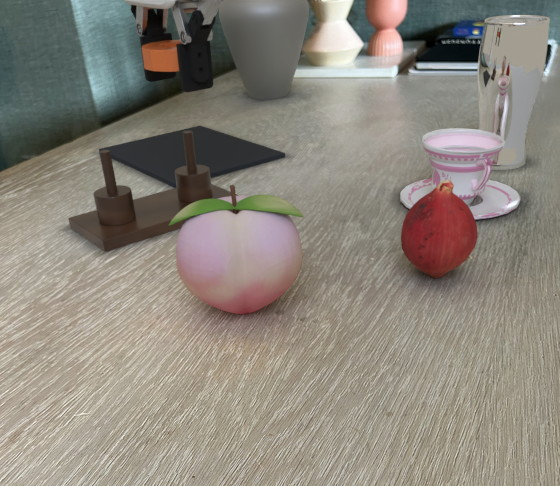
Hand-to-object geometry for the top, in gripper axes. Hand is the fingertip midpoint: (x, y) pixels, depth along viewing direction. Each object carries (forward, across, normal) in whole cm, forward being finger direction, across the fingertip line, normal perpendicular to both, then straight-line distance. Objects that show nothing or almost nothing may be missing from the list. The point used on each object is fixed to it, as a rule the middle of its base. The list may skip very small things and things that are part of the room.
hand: (178, 82), depth 64 cm
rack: (+12, 0, -4) cm, 13 cm away
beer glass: (+12, +13, +34) cm, 38 cm away
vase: (+13, -37, +38) cm, 54 cm away
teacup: (+12, +18, +21) cm, 30 cm away
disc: (-2, 0, 0) cm, 2 cm away
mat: (+12, -17, +10) cm, 23 cm away
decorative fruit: (+12, +22, -9) cm, 27 cm away
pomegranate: (+12, +28, +6) cm, 31 cm away
